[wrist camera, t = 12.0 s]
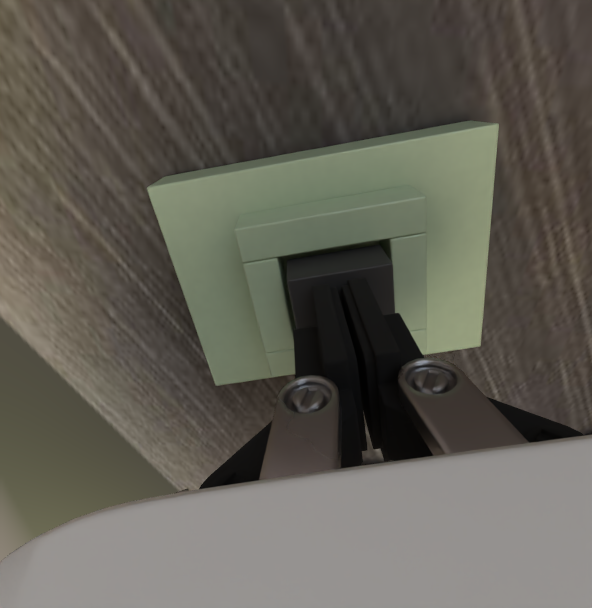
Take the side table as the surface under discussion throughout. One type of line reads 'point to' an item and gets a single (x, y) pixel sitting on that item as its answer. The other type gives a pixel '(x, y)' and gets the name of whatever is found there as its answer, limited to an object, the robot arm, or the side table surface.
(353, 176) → the tiered green pedestal
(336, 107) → the side table surface
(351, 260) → the black key
